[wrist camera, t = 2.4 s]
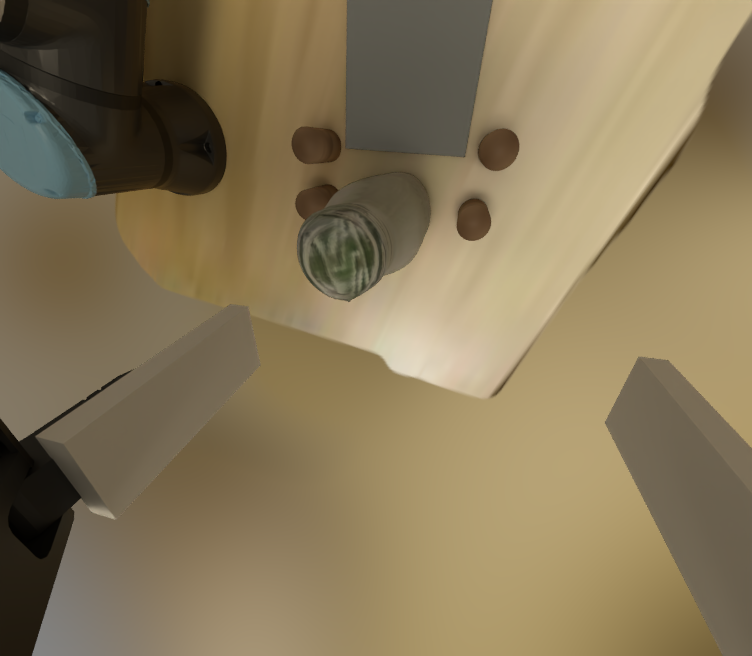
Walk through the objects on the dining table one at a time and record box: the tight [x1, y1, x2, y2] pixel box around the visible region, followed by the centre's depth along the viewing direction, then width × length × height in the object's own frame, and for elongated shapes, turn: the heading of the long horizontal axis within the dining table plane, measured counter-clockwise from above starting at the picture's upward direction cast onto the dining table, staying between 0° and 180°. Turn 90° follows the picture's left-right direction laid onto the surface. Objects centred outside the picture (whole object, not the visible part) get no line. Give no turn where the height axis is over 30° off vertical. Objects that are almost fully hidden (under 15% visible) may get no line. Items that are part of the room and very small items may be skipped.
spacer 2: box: [295, 185, 338, 220], centre depth 46 cm, size 4×4×7 cm
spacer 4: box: [478, 129, 519, 171], centre depth 38 cm, size 4×4×7 cm
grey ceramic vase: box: [297, 172, 431, 302], centre depth 35 cm, size 10×10×28 cm
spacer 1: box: [292, 127, 341, 164], centre depth 42 cm, size 4×4×7 cm
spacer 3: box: [457, 199, 491, 241], centre depth 42 cm, size 4×4×7 cm
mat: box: [346, 0, 492, 157], centre depth 39 cm, size 16×16×1 cm
